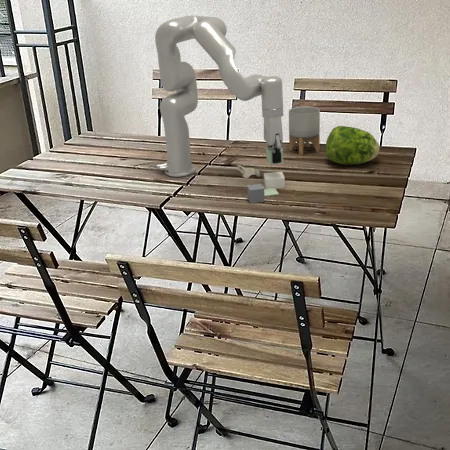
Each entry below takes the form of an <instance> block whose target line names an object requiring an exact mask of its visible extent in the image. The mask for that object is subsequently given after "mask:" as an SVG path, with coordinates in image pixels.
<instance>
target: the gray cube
mask: <svg viewBox="0 0 450 450" xmlns="http://www.w3.org/2000/svg"><path fill="white" fill-rule="evenodd" d="M264 189H265V188H264V186H263V184H262V183H257V184H256V183H255V184H247V185H246V190H247V191H246V193H247V194H246V195H247V199H248V201H249V203H250V204H256V203H264V202H265V200H266V199H265V197H264Z"/></svg>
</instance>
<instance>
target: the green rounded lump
mask: <svg viewBox="0 0 450 450" xmlns="http://www.w3.org/2000/svg"><path fill="white" fill-rule="evenodd" d="M380 149H381V148H380V144H379V142H378V141H377V140H376V139H375V137H374V135H373V134H371V133H370V132H368V131H367V130H363V129H360V128H357V127H353V126H346V125H345V126H344V125H338V126H335V127H333V128H332V130H331V131H330V132H329V134H328V136H327V138H326V142H325V155H326V157H327V159H328V160H329V161H332V162H334V163H337V164H339V165H350V166H351V165H360V164H361V165H362V164H364V163H365V164H366V163H367V162H369V161H371V160H374V159H375V158H376V157H377V156H378V154H379V153H380Z"/></svg>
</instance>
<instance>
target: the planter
mask: <svg viewBox="0 0 450 450" xmlns="http://www.w3.org/2000/svg"><path fill="white" fill-rule="evenodd" d="M320 110H321V109H320V108H318V107H315V106H296V107H291V108H290V109H288V140H289V143H288V144H289V145H288V149H289V151H294V147H295V146H294V145H295V144H296V143H298V156H303V155H304V147H305V148H310V146H311V145H310V143H311V144H312V145H313V146H314V149H315V153H319V152H320V149H321V148H320V145H321V144H320V142H321V141H320V138H321V137H320V135H321V132H320V131H321V130H320V129H321V127H320V123H321V122H320V121H321V119H320V117H321V116H320V115H321V111H320Z"/></svg>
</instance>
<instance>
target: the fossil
mask: <svg viewBox="0 0 450 450" xmlns="http://www.w3.org/2000/svg"><path fill="white" fill-rule="evenodd" d="M235 167H238V168H237V169H236V172H239V173H241V175H242V178H245V179H246V178H247V179H248V178H250V177H251V176H256V177H257V178H260V177H261V173H260V170H259V169H258V168H256V169H255V168H252V167H244V166H242V165H239V164H237V165H235Z"/></svg>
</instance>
